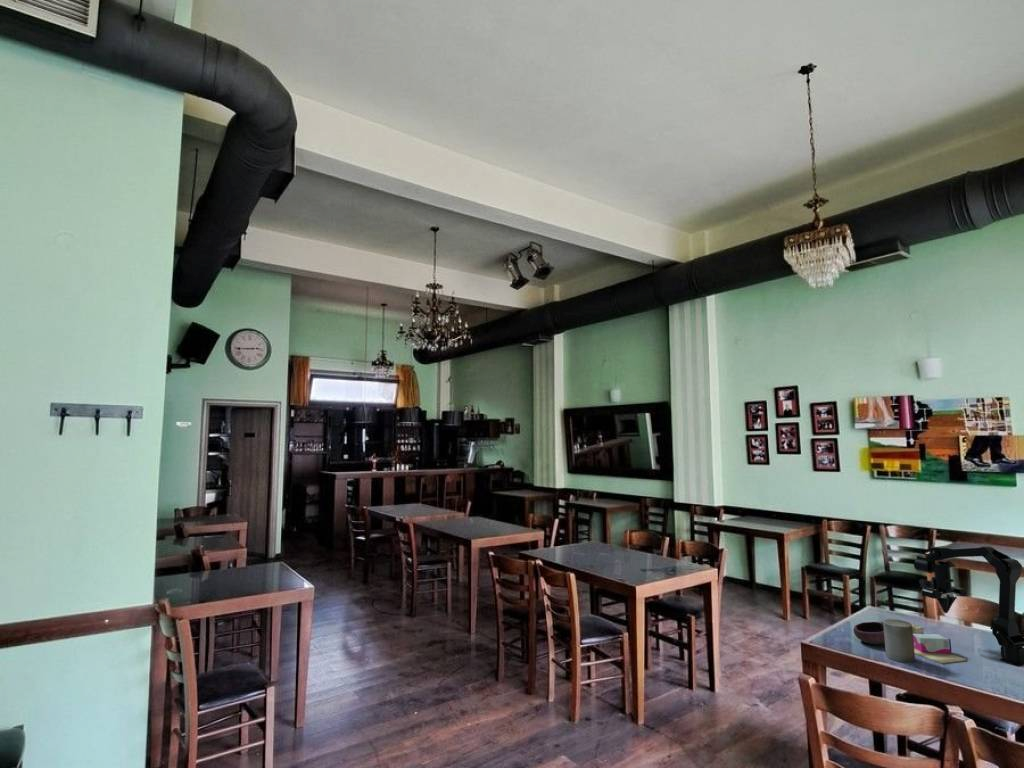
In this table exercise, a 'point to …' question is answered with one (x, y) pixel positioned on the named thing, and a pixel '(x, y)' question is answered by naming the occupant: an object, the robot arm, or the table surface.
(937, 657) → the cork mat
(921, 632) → the beech block
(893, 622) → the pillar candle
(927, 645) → the supplement box
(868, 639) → the bowl
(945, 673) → the table surface
